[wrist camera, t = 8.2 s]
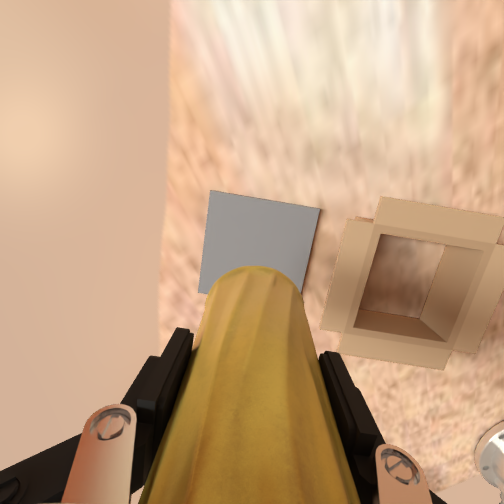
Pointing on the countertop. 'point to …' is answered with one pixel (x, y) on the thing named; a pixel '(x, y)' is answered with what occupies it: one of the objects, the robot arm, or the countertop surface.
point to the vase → (252, 406)
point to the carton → (441, 292)
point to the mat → (256, 237)
